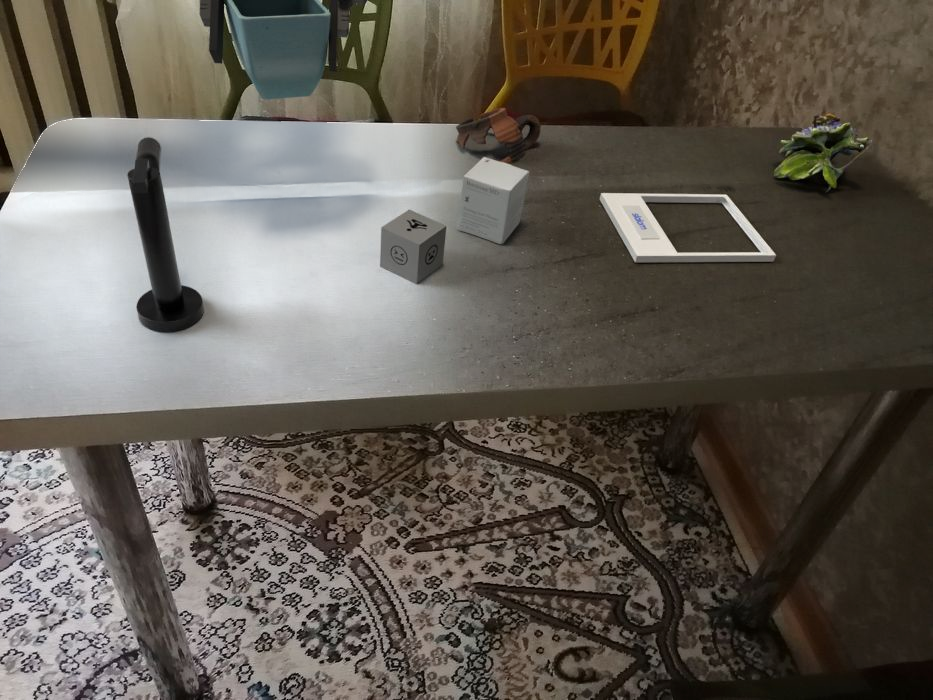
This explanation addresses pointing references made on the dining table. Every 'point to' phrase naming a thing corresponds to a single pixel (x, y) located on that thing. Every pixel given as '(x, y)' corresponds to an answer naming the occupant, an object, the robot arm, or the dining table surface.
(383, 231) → the dice cube
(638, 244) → the photo frame
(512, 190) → the product box
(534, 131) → the pottery mug
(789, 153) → the passion flower
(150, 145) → the tap
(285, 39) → the flower pot
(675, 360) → the dining table surface
